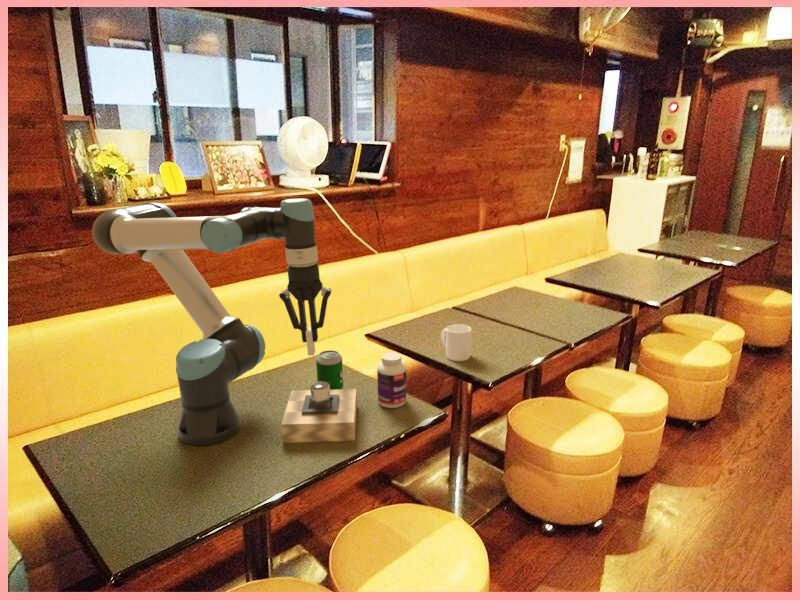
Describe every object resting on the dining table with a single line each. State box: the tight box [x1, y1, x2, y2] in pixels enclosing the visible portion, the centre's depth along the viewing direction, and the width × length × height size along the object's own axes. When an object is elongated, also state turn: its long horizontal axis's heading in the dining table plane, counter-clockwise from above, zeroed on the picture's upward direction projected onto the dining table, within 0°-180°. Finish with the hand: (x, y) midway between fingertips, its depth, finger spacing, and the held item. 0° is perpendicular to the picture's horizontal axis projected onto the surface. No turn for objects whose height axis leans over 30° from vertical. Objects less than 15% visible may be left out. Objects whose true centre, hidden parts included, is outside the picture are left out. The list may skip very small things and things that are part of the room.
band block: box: [280, 388, 358, 444], centre depth 148 cm, size 18×18×6 cm
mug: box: [440, 323, 472, 362], centre depth 189 cm, size 12×8×10 cm
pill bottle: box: [376, 352, 407, 409], centre depth 157 cm, size 8×8×14 cm
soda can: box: [315, 349, 344, 390], centre depth 165 cm, size 8×8×12 cm
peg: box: [309, 381, 331, 409], centre depth 147 cm, size 5×5×6 cm
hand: (311, 353), depth 143 cm, fingers closed
